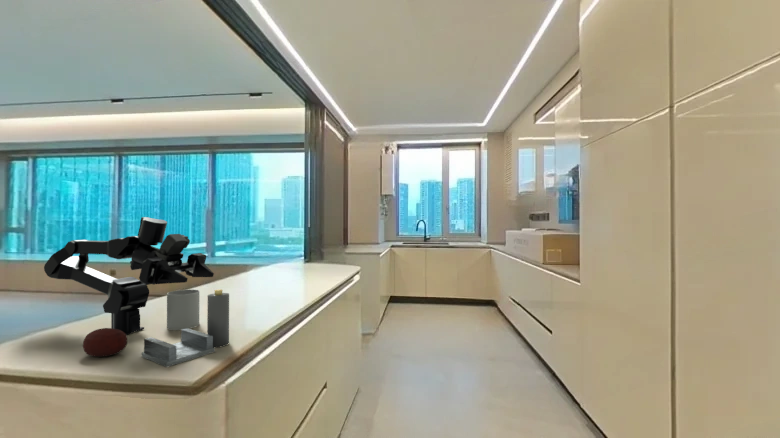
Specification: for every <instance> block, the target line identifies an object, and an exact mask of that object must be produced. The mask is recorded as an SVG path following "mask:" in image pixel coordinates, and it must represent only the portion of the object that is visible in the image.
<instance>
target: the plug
mask: <svg viewBox="0 0 780 438" xmlns="http://www.w3.org/2000/svg"><path fill="white" fill-rule="evenodd" d="M206 317H207V323H206V324H207V329H206V330H207V331H206V332H207V333H206V334H209V335H212V336H213V347H214V348H221V347H220V346H222V347H225V346H228V345H229V344H230V293H228V292H223V289H215V290H214V293H210V294H208V295H207V316H206ZM228 343H229V344H228ZM227 344H228V345H227ZM224 345H225V346H224Z"/></svg>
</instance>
